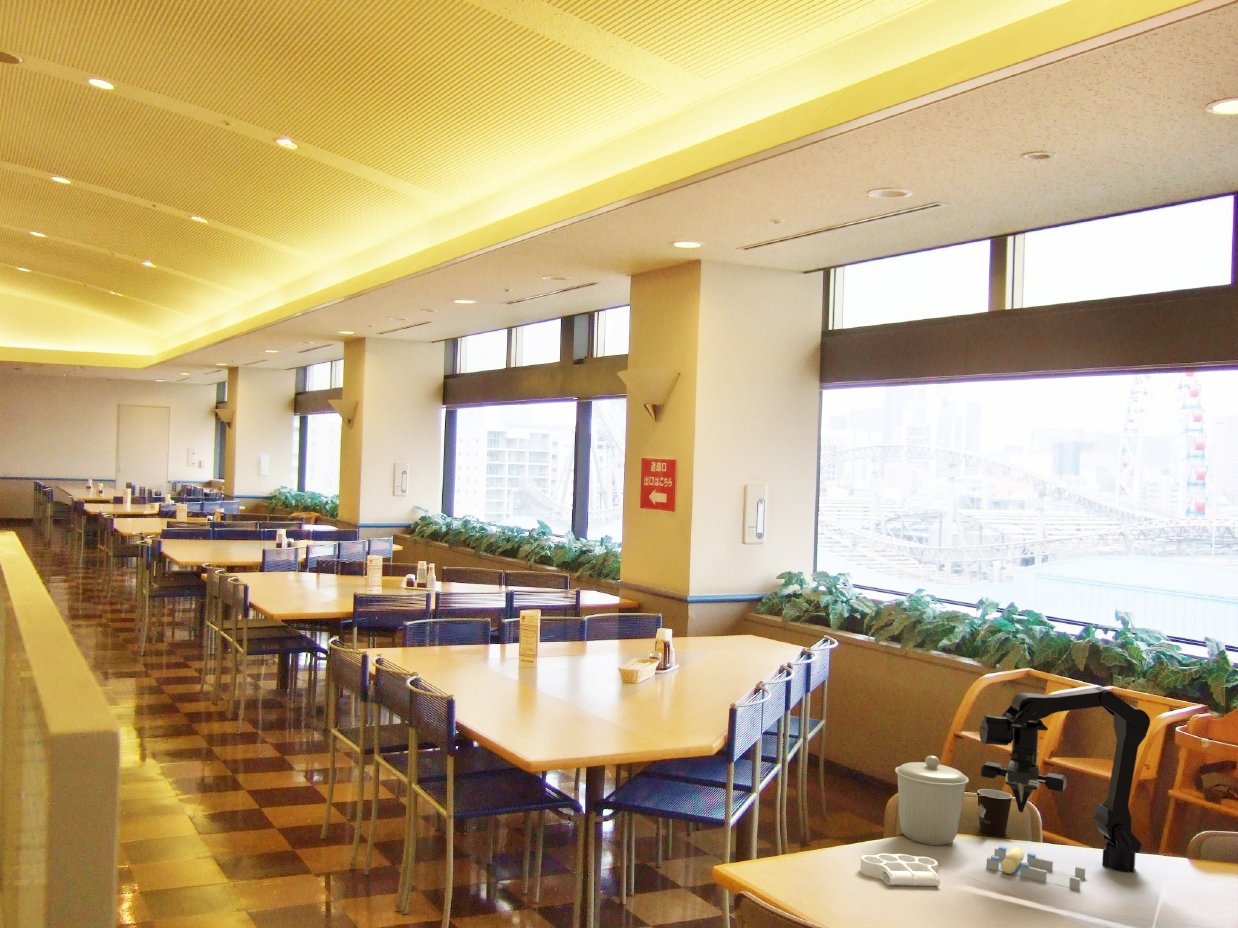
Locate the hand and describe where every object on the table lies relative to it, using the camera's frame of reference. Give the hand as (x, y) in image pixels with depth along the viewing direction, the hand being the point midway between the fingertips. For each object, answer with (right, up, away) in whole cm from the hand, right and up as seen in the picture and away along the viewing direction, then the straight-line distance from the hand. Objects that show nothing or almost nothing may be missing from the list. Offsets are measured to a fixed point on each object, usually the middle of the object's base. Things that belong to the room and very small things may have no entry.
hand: (1021, 811), depth 250 cm
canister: (-18, -12, +14) cm, 26 cm away
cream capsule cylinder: (-4, -11, -6) cm, 13 cm away
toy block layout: (0, -12, -9) cm, 15 cm away
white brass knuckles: (-33, -10, -14) cm, 37 cm away
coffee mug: (+2, -14, +26) cm, 29 cm away
